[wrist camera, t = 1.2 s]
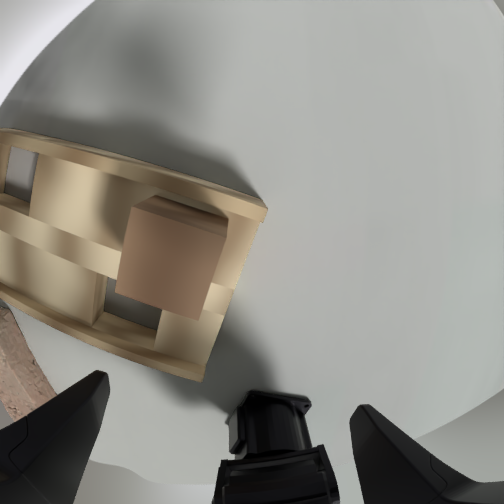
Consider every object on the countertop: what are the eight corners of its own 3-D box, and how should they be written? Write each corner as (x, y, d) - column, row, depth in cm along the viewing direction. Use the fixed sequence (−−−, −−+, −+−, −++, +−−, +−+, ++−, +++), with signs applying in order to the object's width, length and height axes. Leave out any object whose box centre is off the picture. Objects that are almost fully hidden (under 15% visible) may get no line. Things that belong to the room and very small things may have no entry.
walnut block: (228, 218, 16) (226, 237, 13) (205, 286, 18) (198, 320, 14) (155, 194, 16) (131, 206, 12) (137, 264, 17) (114, 292, 13)
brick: (-24, 307, 20) (-47, 326, 16) (13, 305, 21) (-14, 328, 16) (34, 410, 26) (22, 433, 21) (77, 419, 26) (65, 446, 21)
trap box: (262, 199, 19) (270, 212, 14) (205, 353, 22) (200, 392, 18) (9, 128, 15) (-26, 128, 11) (-4, 267, 19) (-33, 285, 15)
